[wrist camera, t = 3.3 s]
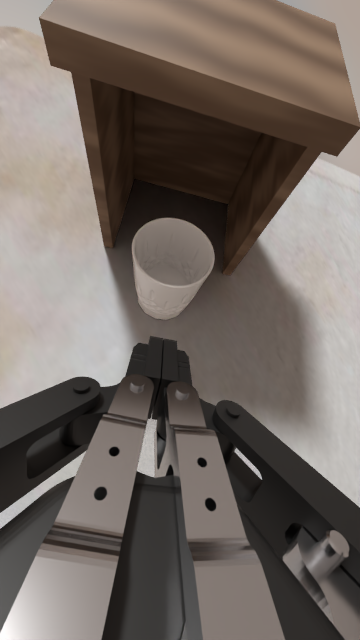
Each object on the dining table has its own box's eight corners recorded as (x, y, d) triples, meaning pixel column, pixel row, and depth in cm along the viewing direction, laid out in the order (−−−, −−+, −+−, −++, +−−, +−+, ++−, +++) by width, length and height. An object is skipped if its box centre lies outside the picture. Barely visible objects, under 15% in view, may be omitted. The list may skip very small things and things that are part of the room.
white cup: (202, 305, 31) (230, 264, 22) (154, 335, 29) (164, 303, 19) (169, 262, 33) (182, 206, 24) (120, 287, 30) (114, 235, 21)
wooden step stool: (238, 277, 34) (360, 127, 16) (94, 243, 32) (39, 17, 13) (242, 199, 40) (335, 23, 22) (121, 165, 37) (109, -66, 19)
